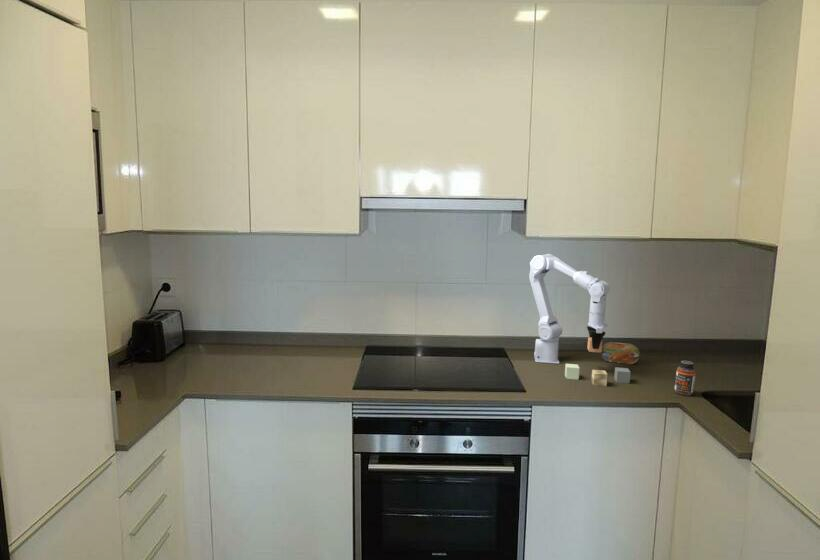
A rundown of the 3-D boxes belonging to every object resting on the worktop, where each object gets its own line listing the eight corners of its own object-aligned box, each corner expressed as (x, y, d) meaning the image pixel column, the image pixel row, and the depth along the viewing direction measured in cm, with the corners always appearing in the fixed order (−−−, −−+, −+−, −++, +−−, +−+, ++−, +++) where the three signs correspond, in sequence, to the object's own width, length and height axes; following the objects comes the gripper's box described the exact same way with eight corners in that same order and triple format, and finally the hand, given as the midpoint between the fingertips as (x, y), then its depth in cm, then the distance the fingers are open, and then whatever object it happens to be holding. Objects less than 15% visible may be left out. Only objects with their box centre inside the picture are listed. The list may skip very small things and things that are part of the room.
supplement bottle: (672, 393, 185) (676, 362, 183) (675, 388, 190) (678, 358, 188) (692, 397, 182) (695, 365, 180) (694, 392, 187) (697, 361, 185)
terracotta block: (589, 351, 204) (590, 340, 203) (587, 348, 208) (588, 337, 208) (601, 352, 203) (602, 341, 203) (599, 349, 208) (600, 338, 207)
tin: (600, 361, 220) (601, 341, 219) (599, 359, 223) (601, 339, 222) (639, 365, 216) (641, 345, 214) (638, 363, 219) (640, 343, 217)
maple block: (593, 385, 192) (594, 373, 191) (591, 381, 196) (592, 369, 195) (606, 386, 191) (607, 374, 190) (604, 382, 195) (605, 370, 195)
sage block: (566, 378, 198) (566, 367, 197) (564, 374, 202) (565, 363, 202) (578, 379, 197) (579, 368, 197) (576, 375, 202) (577, 364, 201)
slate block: (616, 382, 195) (617, 371, 194) (614, 378, 199) (615, 367, 199) (629, 383, 194) (630, 372, 194) (626, 379, 199) (627, 368, 198)
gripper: (612, 317, 196) (608, 352, 198) (604, 309, 210) (601, 342, 212) (592, 316, 197) (589, 351, 199) (586, 308, 211) (583, 341, 213)
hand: (594, 346), depth 206 cm, fingers closed on terracotta block, 4 cm apart
